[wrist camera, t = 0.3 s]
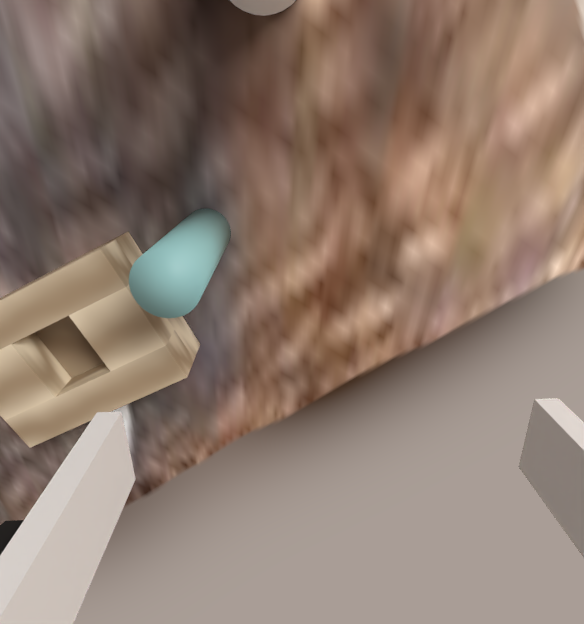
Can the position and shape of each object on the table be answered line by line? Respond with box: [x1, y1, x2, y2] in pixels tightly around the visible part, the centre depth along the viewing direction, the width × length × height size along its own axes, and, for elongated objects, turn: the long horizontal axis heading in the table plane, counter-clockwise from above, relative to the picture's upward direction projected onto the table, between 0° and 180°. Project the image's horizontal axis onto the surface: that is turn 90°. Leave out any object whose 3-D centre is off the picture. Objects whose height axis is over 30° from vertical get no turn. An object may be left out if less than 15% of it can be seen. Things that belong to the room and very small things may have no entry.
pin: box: [129, 209, 231, 318], centre depth 30 cm, size 4×4×14 cm
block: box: [0, 232, 200, 448], centre depth 37 cm, size 12×16×6 cm
